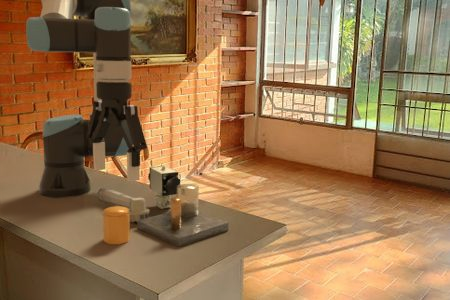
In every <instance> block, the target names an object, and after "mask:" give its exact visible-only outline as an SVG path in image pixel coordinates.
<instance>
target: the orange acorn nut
mask: <svg viewBox="0 0 450 300" xmlns="http://www.w3.org/2000/svg"><path fill="white" fill-rule="evenodd" d="M129 210H130V209H129V208H126V207H121V206H117V205H114V206H109V207H107V208H105V209H103V214H102V216H103V217H102V220H103V221H102V222H103V223H102V224H103V225H102V226H103V242H105V243H107V244H108V245H122V244H125V243H128V242H129V240H130V238H131V234H130V233H131V232H130V231H131V228H130V227H131V226H130V225H131V222H130V213H129Z"/></svg>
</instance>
